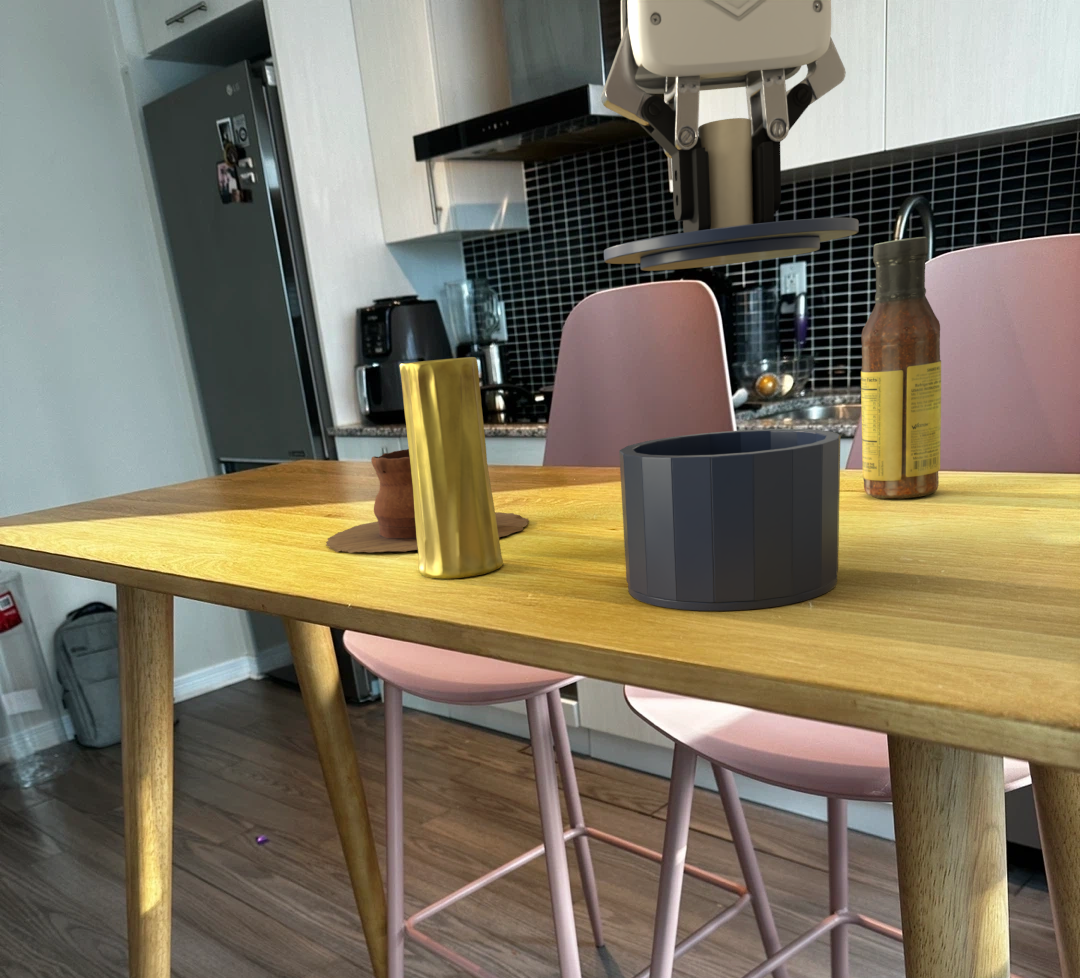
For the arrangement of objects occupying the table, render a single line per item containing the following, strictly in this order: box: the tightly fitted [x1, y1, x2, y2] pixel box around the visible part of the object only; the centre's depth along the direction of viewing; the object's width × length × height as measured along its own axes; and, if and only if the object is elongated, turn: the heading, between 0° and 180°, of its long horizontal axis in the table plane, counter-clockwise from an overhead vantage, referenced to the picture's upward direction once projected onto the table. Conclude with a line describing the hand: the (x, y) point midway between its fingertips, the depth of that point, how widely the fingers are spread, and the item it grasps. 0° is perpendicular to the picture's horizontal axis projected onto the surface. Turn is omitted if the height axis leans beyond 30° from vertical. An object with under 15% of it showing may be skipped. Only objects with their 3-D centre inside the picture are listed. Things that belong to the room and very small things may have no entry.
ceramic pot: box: [325, 448, 530, 554], centre depth 88 cm, size 18×18×7 cm
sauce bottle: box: [860, 236, 942, 500], centre depth 84 cm, size 6×6×20 cm
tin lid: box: [603, 117, 860, 272], centre depth 56 cm, size 14×14×7 cm
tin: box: [618, 428, 841, 612], centre depth 62 cm, size 13×13×8 cm
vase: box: [399, 356, 504, 580], centre depth 71 cm, size 6×6×14 cm
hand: (727, 228), depth 57 cm, fingers closed on tin lid, 2 cm apart
